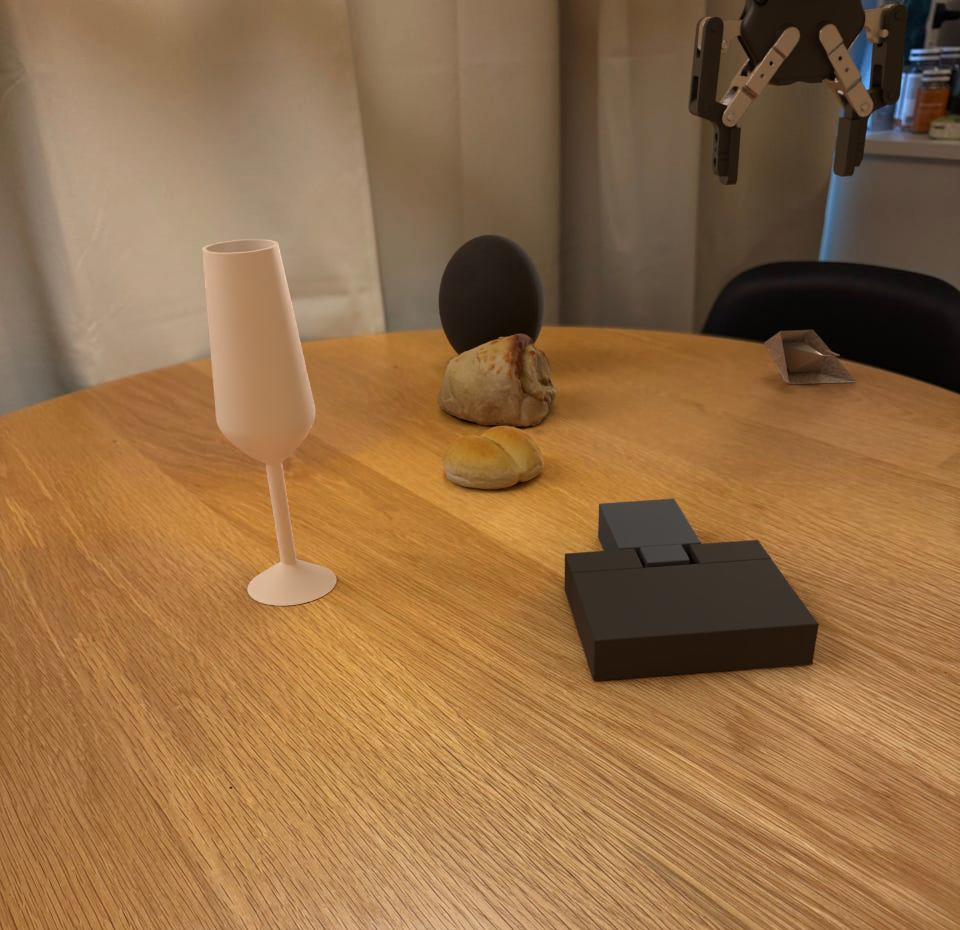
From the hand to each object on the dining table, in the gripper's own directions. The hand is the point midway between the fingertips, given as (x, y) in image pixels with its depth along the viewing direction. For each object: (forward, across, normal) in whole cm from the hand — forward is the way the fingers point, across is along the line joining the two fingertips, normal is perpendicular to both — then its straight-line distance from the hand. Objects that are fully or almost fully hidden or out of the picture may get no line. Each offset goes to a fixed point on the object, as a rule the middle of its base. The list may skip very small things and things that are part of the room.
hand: (785, 179), depth 73 cm
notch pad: (+24, -12, -20) cm, 34 cm away
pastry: (+25, -20, +27) cm, 41 cm away
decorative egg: (+25, -18, +42) cm, 52 cm away
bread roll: (+25, -22, +9) cm, 34 cm away
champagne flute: (+24, -39, -10) cm, 47 cm away
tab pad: (+24, -12, -11) cm, 29 cm away
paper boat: (+26, +14, +29) cm, 41 cm away
